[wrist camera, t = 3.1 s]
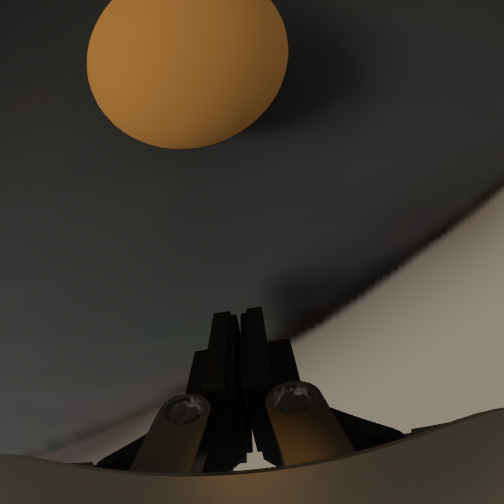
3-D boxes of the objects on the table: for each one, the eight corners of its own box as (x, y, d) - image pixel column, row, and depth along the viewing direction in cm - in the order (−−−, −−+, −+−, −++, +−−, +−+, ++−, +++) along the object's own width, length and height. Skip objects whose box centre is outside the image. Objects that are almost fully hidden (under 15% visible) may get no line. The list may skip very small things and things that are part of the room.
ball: (136, 166, 11) (56, 173, 6) (121, 34, 9) (53, -30, 4) (287, 139, 11) (330, 118, 6) (263, 6, 9) (278, -84, 4)
